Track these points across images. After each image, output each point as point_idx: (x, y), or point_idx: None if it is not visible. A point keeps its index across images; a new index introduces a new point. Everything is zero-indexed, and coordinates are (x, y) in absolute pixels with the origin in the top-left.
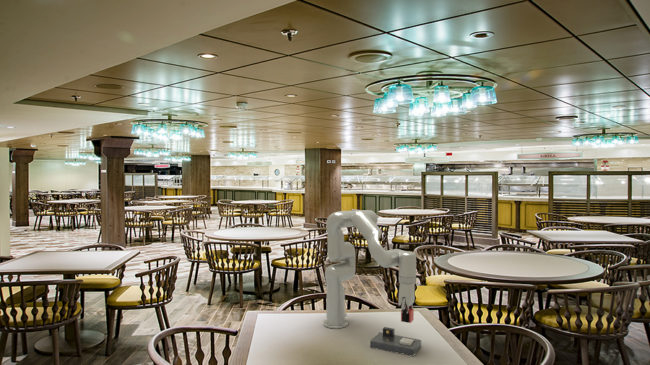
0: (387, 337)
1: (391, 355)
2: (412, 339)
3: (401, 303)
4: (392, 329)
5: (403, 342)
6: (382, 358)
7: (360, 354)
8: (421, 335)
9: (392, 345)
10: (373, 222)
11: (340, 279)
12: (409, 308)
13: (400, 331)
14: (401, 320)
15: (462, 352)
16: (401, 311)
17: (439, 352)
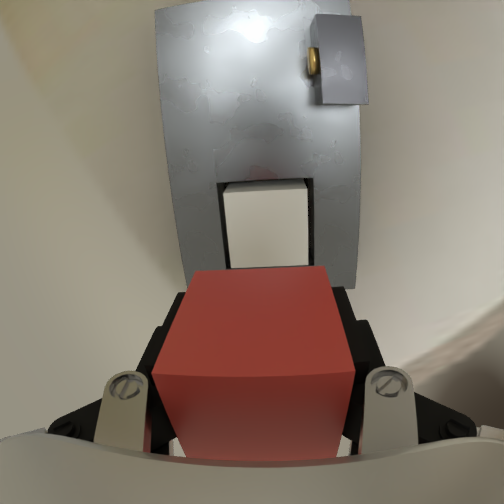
0: (280, 74)
1: (141, 170)
2: (338, 242)
3: (119, 490)
4: (343, 91)
5: (226, 221)
6: (85, 149)
7: (68, 40)
8: (491, 223)
9: (167, 162)
10: None
11: None
12: (332, 437)
13: (501, 103)
14: (194, 281)
15: None
16: (158, 363)
17: None
